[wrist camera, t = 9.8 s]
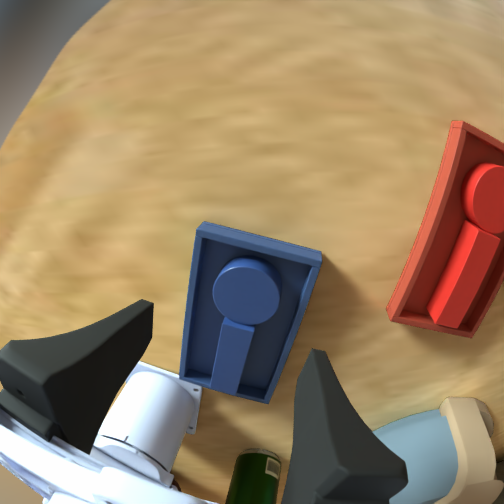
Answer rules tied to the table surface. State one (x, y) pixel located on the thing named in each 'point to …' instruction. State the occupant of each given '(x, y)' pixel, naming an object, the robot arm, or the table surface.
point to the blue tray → (266, 334)
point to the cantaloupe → (503, 474)
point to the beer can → (255, 478)
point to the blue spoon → (242, 314)
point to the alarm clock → (446, 454)
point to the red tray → (448, 237)
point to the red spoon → (471, 244)
